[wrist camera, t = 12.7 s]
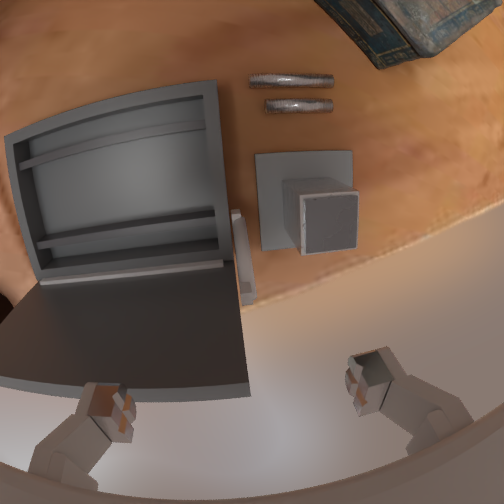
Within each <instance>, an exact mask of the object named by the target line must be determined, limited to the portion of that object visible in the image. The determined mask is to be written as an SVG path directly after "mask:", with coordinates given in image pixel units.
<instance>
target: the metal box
mask: <svg viewBox="0 0 504 504" xmlns="http://www.w3.org/2000/svg"><path fill="white" fill-rule="evenodd" d="M314 1H315V2H317V3H318V4H319V5H320V6H321V7H322V8H323V9H324V10H325V11H326V12H327V13H328V14H329V15H330V16H331V17H332V18H333V19H334V20H335V21H336V22H337V23H338V24H339V25H340V27H341V28H342V29H343V30H344V31H345V32H346V33H347V34H348V35H349V36H350V37H351V38H352V39H353V40H354V41H355V43H356V44H357V45H358V46H359V47H360V48H361V49H362V50H363V52H364V53H365V54H366V55H367V56H368V58H369V59H370V60H371V61H372V63H373V64H374V65H375V66H376V67H377V68H378V69H385V68H387V67H391V66H395V65H399V64H401V63H403V62H406V61H412V60H415V59H419V58H431V57H434V56H436V55H438V54H439V53H440V52H442V51H443V50H444V49H445V48H447V47H448V46H449V45H450V44H452V43H453V42H455V41H456V40H457V39H458V38H459V37H460V36H462V35H463V34H464V33H465V32H467V31H468V30H470V29H471V28H472V27H474V26H475V25H476V24H478V23H479V22H480V21H481V20H483V19H484V18H485V17H486V16H488V15H489V14H490V13H492V11H493V10H494V8H496V7H498V6H501V4H502V0H314Z"/></svg>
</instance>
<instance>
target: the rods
mask: <svg viewBox="0 0 504 504" xmlns="http://www.w3.org/2000/svg"><path fill="white" fill-rule="evenodd" d="M333 86H334V77H333V75H329V74H307V73H266V74H249V87H250V88H263V87H324V88H333ZM264 106H265V113H298V112H322V113H331V112H332V111H333V102H332V100H331V99H265V102H264Z"/></svg>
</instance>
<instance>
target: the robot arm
mask: <svg viewBox="0 0 504 504" xmlns="http://www.w3.org/2000/svg"><path fill="white" fill-rule="evenodd" d="M348 365H349V369H348V370H347V371H346V375H345V382H346V387H347V390H348V392H349V394H350V395H351V396H353V397H355V398H354V402H353V404H354V406H355V409H356V411H357V413H358V416H359V417H360V416H363V415H367V414H370V413H374V412H377V411H380V412H381V413H382V414H383V415H385V416H386V417H387V418H389V419H390V420H392V421H393V422H394V423H396V424H397V425H399V426H400V427H402V428H403V429H404V430H406V431H407V432H409V433H410V434H412V435H413V438H412V439H411V441H410V442H409V444H408V445H407V447H406V450H407V453H408V455H409V456H407V457H405V458H402V459H400V460H397V461H395V462H392V463H390V464H387V465H385V466H382V467H379V468H376V469H373V470H371V471H368V472H365V473H362V474H358V475H355V476H352V477H349V478H346V479H342V480H338V481H334V482H331V483H327V484H323V485H318V486H314V487H310V488H305V489H301V490H295V491H290V492H284V493H278V494H271V495H264V496H256V497H247V498H235V499H218V500H167V499H153V498H141V497H132V496H124V495H117V494H111V493H104V492H99V491H97V490H98V483H97V481H96V480H94V479H93V478H92V477H91V476H89V475H88V473H89V472H90V471H91V469H92V468H93V467H94V466H95V464H96V463H97V462H98V460H99V459H100V458H101V457H102V455H103V454H104V453H105V452H106V450H107V449H108V448H109V447H110V445H111V444H112V442H120V443H121V442H122V443H131V442H132V437H133V431H134V428H133V427H132V425H131V423H132V422H133V421H134V420H135V419H136V405H135V402H134V400H133V398H132V397H131V396H130V395H128V394H127V388H126V386H125V385H124V384H121V383H98V382H87V383H86V384H85V386H84V389H83V392H82V394H81V397H80V400H79V403H78V406H77V409H76V412H75V415H73V414H72V415H71V416H69V417H68V418H67V419H66V420H65V421H64V422H62V423H61V424H60V425H59V426H58V427H57V428H56V429H55V430H54V431H52V432H51V433H50V434H49V435H48V436H47V437H46V438H44V439H43V440H42V441H41V442H40V443H39V444H38V445H36V447H35V450H34V453H33V456H32V459H31V462H30V466H29V470H28V472H25V471H23V470H20V469H17V468H15V467H12V466H10V465H7V464H5V463H2V462H0V504H504V402H503V403H502V404H501V405H499V406H498V407H496V408H495V409H494V410H492V411H491V412H489V413H487V414H486V415H484V416H483V417H481V418H480V419H478V420H477V421H475V422H474V420H473V419H472V417H471V416H470V414H469V412H468V411H467V409H466V408H465V406H464V405H463V403H462V402H461V400H460V399H459V398H458V397H456V396H454V395H452V394H449V393H447V392H445V391H443V390H441V389H439V388H437V387H435V386H433V385H431V384H429V383H427V382H425V381H423V380H421V379H419V378H417V377H415V376H413V375H407V374H406V373H405V371H404V369H403V368H402V366H401V365H400V363H399V362H398V360H397V359H396V357H395V356H394V354H393V353H392V351H391V350H390V348H389V347H387V346H386V347H383V348H379V349H375V350H371V351H368V352H364V353H360V354H356V355H352V356H350V357H349V359H348Z"/></svg>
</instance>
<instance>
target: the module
mask: <svg viewBox="0 0 504 504" xmlns="http://www.w3.org/2000/svg"><path fill="white" fill-rule="evenodd" d="M281 182H282V199H283V218H284V229H285V231H286V232H287V234H288V235H289V237H290V239H291V240H292V242H293V243H294V245H295V246H296V248H297V250H298V251H299V253H300V254H301V256H304V255H312V254H320V253H328V252H336V251H344V250H351V249H357V243H358V221H359V191H358V190H356V189H354V188H352V187H350V186H348V185H346V184H344V183H341V182H339V181H337V180H335V179H333V178H331V177H319V178H303V179H290V180H281Z"/></svg>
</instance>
